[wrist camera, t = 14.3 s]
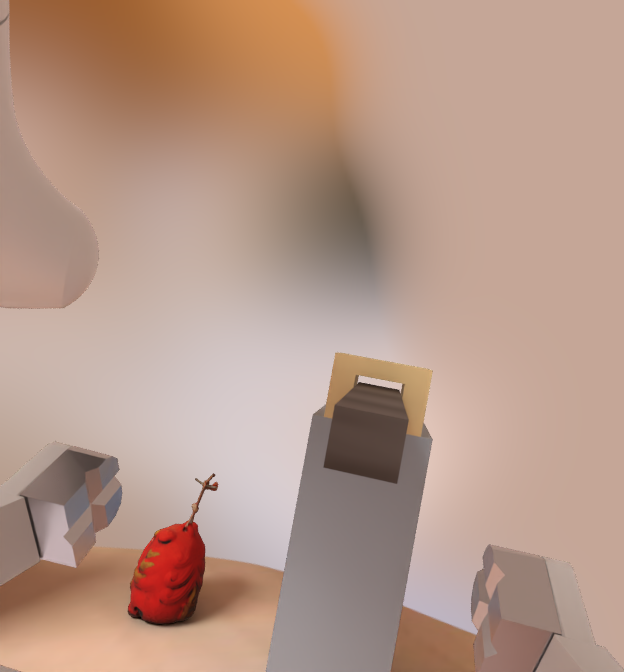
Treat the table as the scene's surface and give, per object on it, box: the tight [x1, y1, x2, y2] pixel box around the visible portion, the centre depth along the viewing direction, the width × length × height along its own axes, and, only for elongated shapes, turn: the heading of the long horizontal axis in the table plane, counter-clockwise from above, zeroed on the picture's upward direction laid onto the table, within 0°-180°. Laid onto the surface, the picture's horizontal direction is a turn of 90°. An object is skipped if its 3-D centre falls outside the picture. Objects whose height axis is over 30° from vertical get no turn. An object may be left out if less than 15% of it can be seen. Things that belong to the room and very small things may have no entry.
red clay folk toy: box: [128, 474, 218, 624], centre depth 51 cm, size 8×7×15 cm
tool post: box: [266, 353, 433, 672], centre depth 47 cm, size 12×10×30 cm
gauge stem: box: [323, 382, 409, 484], centre depth 33 cm, size 20×4×3 cm, turn 171°
